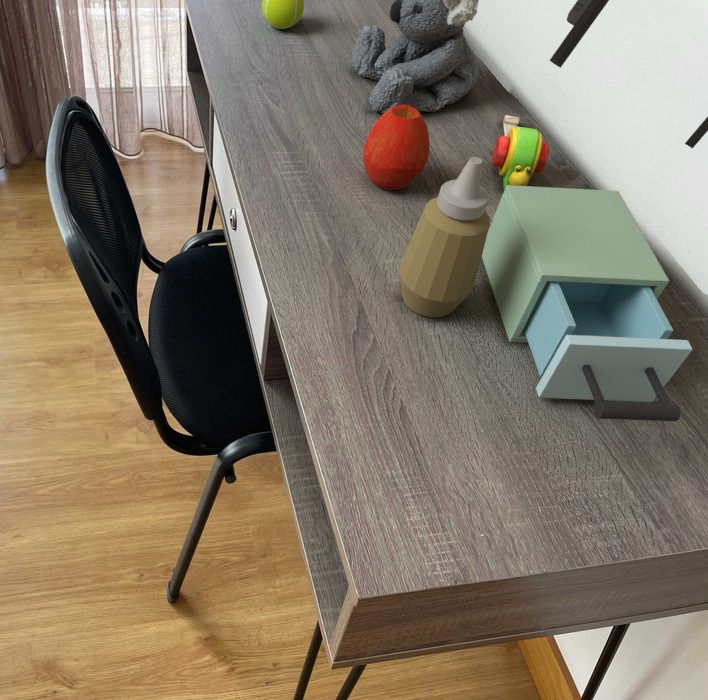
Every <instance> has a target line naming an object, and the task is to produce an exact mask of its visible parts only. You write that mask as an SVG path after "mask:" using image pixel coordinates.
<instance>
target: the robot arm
mask: <svg viewBox="0 0 708 700" xmlns="http://www.w3.org/2000/svg"><path fill="white" fill-rule="evenodd" d="M609 1H610V0H577V1H576V2H575V3H574V5H573V6H572V7H571V9H570V10H569V12H568V13H567V17H566V22H567V23H568V24H570V25H572V28H571V29H570V31H569V32H568V33H567V35H566V36H565V38H564V39H563V41H561V44H559V46H558V47H557V49H556V50H555V52H554V53H553V55H552V56H551V58H550V59H549V61H550V62H551V63H552V64H554V65H555V66H557V67H558V68H562V67H563V65H564V64H565V62H566V61H567V60H568V58H569V57H570V56H571V54H572V53H573V51H574V50H575V48H577V46H578V45H579V43H580V42H581V40H583V38H584V36H585V35H586V33H587V32H588V31H589V29H590V27H592V25H593V24H594V22H595V21H596V20H597V18H598V16H599V15H600V14H601V13H602V11H603V10H604V8H605V7H606V5H607V4H608V2H609ZM706 133H708V116H707V117H706V118H704V120H703V121H702V123H701V124H699V126H698V127H697V128H696V130H695V131H694V132H693V133H692V134H691V135H690V136H689V138H688V139H687V140H686V141H685V143H684V144H685V146H688V147H689V148H691V149H694V148H695V146H696V145H697V144H698V143H699V142H700V141H701V139H703V137H704V136H705V135H706Z"/></svg>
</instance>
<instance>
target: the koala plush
mask: <svg viewBox="0 0 708 700" xmlns="http://www.w3.org/2000/svg"><path fill="white" fill-rule="evenodd" d="M479 1H480V0H394V2H393V3H392V4H391V5H390V9H389V18H390V20H391V21H392V22H394V23H395V24H396V25H397V26H398V28H399V31H400V32H401V33H399V35H398V36H397V37H396V38H394V39H393V40H391V42H390V43H389V44H388V45H387V46H386V36H385V31H384V30H383V28H381V27H379V26H378V25H373V26H372V25H365V26H364V27H363V28H362V29H361V32H360V33H359V36H358V37H357V40H356V42H355V44H354V47H353V49H352V53H351V65H352V67H353V68H354V70H355V71H356V72H357V73H358V76H361V77H364V78H366V79H371V80H373V81H378V82H377V84H376V85H374V88H373V89H372V91H371V92H370V96H369V105H370V106H371V109H372V110H373V111H375V112H376V113H378V112H379V113H381V114H382V115H383V114H384V113H385V112H386V111H387V110H389V109H390V108H393V107H395V106H398V105H409V106H411V107H413V108H415V109H416V110H417V111H418V112H419V113H421V112H425V113H429V112H430V113H434V112H438V111H441V109H443V108H445V105H446V106H447V105H452V104H454V103H456V102H457V101H460V100H461V99H462V98H464V97H465V96H466V95H468V93H469V92H470V91H471V90H472V88H473V87H474V85H476V82H477V80H478V74H479V68H478V63H477V59H476V57H475V54H474V52H473V50H472V49H471V47H470V46H469V44H468V40H467V38H466V37H465V35H464V27H465V25H466V23H467V22H469V21H471V22H472V21H473V20H474V17H475V16H476V15H477V13H478V6H479Z"/></svg>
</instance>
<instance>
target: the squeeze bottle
mask: <svg viewBox="0 0 708 700" xmlns="http://www.w3.org/2000/svg"><path fill="white" fill-rule="evenodd" d="M482 169H483V160H482V158H481V157H478V156H471V157H470V158H469V160H468V161H467V162H466V165H465V166H464V167H463V169H462V171H461V172H460V174H459V175H458V176H457V178H456V179H451V180H448V181H445V182H443V184H442V185H441V186H440V189H439V192H438V196H437V197H434V198H432V199H430V200H429V201H428V202H427V203H426V204H425V205H424V208H423V210H422V212H421V215H420V218H419V220H418V223H417V224H416V226H415V228H414V232H413V234H412V236H411V238H410V240H409V243H408V245H407V247H406V250H405V252H404V254H403V257H402V259H401V261H400V263H399V271H398V275H399V276H398V277H399V283H400V290H401V297H402V299H403V302H404V304H405V305H406V306H407V308H409V309H410V310H411V312H414V313H416V314H418V315H420V316H423V317H427V318H432V319H433V318H443V317H445V316H448V315H449V314H451V313H452V312H453V311H454V310H455V309H456V308H457V307H458V306H459V305H460V304H462V302H463V301H464V300H465V299H466V298H467V297H468V296H469V295H470V294H471V292H472V291H473V290H474V289H475V284H476V281H477V276H478V272H479V268H480V265H481V261H482V253H483V249H484V245H485V242H486V238H487V234H488V231H489V229H490V226H491V220H490V219H491V217H490V215H489V214H488V212H487V210H486V208H487V206H488V203H489V198H490V197H489V193H488V192H487V191H486V189H485V188H484V187H483V186H481V180H482V179H481V178H482Z"/></svg>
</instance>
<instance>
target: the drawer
mask: <svg viewBox="0 0 708 700" xmlns="http://www.w3.org/2000/svg"><path fill="white" fill-rule="evenodd" d="M523 329H524V332H525V335H526V337H527V340H528V343H527V344H528V346H529V348H530V352H531V354H532V357H533V360H534V363H535V366H536V368H537V372H538V374H539V376H540V377H541V378H540V380H539V382H538V383H537V386H536V387H535V391H536V394H537V396H538V398H540V399H562V400H563V399H566V400H589V401H590V400H591V401H594V404H593V407H592V411H593V414H594V417H595V418H596V419H597V420H598V419H600V420H601V419H602V420H624V421H626V420H627V421H650V422H674V423H675V422H678V421H679V420H680V417H681V414H682V413H681V412H682V411H681V407H680V406H679V404H678V403H675V402H671V401H670V399H669V397H668V395H667V393H666V391H665V389H664V388H665V386H666V385H667V384H668V383H669V381H670V380H671V379H672V378H673V376H674V375H675V373H676V372H677V371H678V370H679V368H680V367H681V366H682V364H683V363H684V362H685V360H686V359H687V358H688V357H689V355H690V354H691V352H692V351H693V347H692V345H691V343H690V342H689V340H688V339H674V338H673V339H671V338H670V336H671V335H672V333H673V332H674V329H673V326H672V325H671V323H670V321H669V319H668V318H667V316H666V314H665V311H664V310H663V307H662V306H661V304H660V303H659V301H658V299H656V297H655V295H654V293H653V291H652V290H651V288H650V286H643V285H622V284H601V283H580V282H559V281H547V282H546V284H545V286H544V288H543V290H542V292H541V294H540V296H539V298H538V300H537V302H536V304H535V306H534V308H533V310H532V312H531V314H530V316H529V318H528V320H527V322H526V324H525V326H524V328H523ZM656 398H657V401H658V402H654V400H655V399H656Z"/></svg>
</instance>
